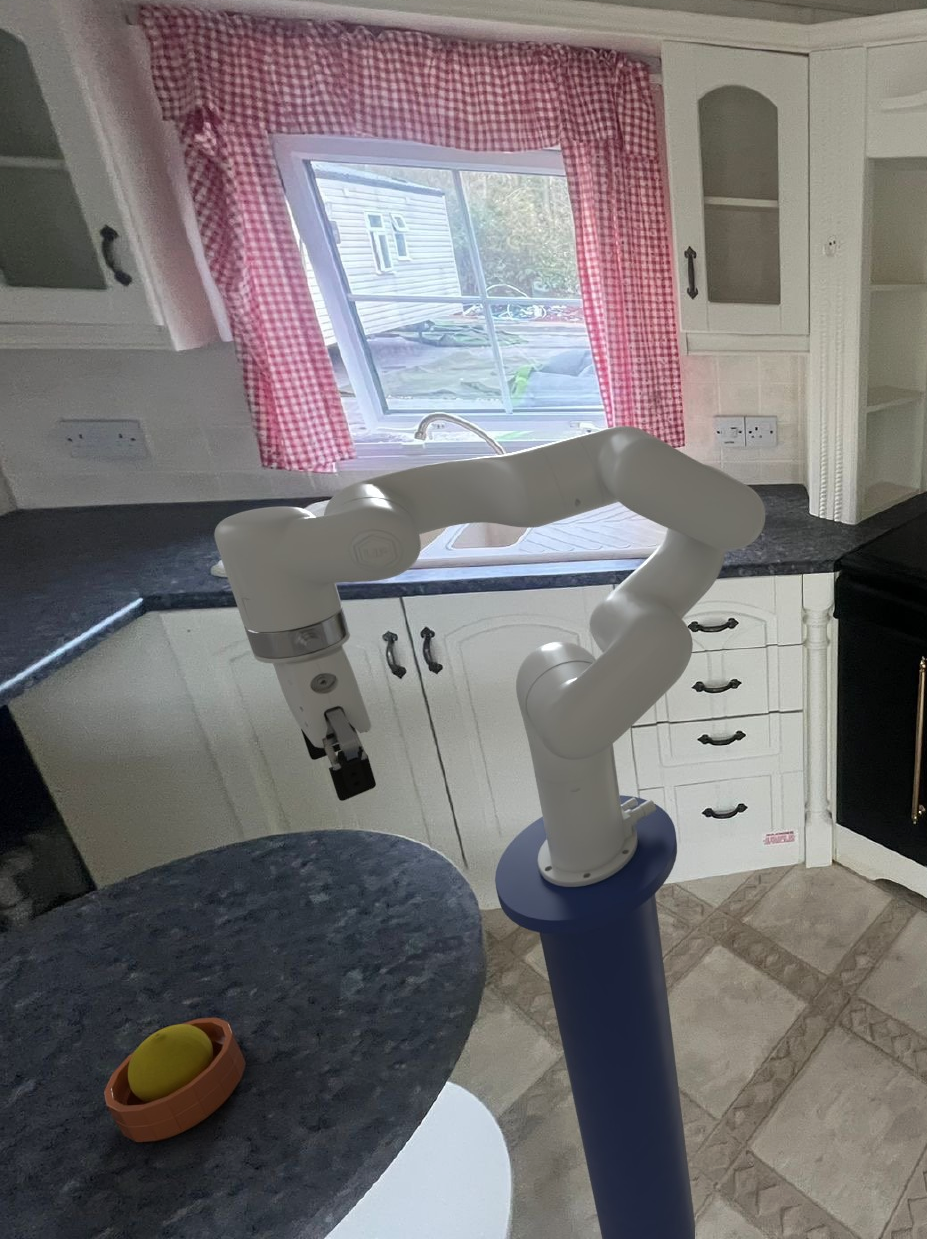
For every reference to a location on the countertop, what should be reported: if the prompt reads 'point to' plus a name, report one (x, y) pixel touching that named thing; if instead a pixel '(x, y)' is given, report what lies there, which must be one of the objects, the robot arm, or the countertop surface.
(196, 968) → the countertop surface
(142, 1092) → the lemon
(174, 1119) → the bowl
